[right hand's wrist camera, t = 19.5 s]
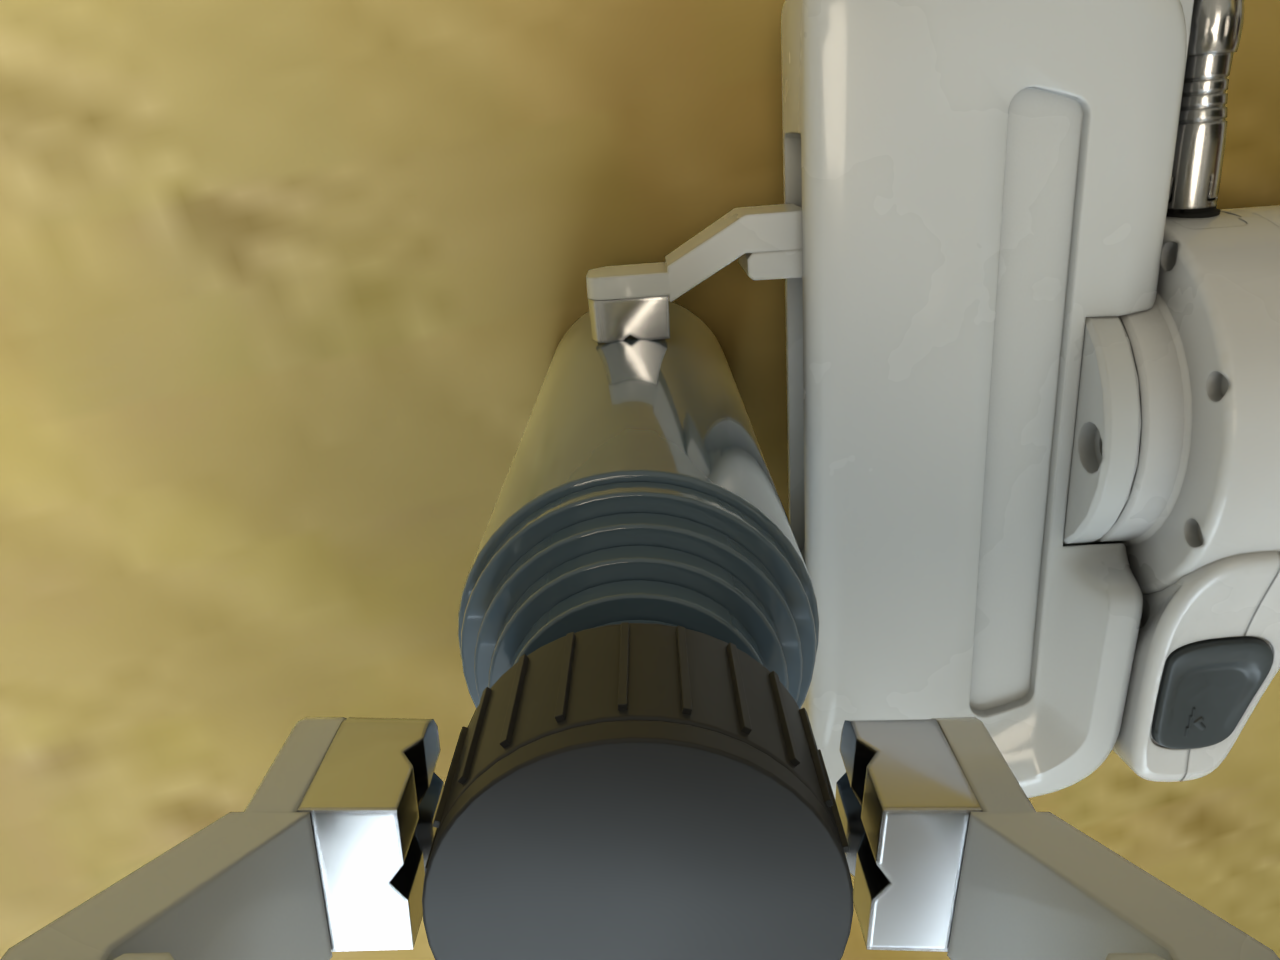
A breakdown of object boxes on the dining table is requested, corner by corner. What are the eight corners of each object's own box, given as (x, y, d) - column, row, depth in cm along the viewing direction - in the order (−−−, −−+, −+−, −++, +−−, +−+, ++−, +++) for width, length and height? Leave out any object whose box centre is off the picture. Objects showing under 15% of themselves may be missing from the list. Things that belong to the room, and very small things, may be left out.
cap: (520, 566, 9) (492, 674, 8) (882, 686, 10) (938, 817, 8) (413, 857, 11) (365, 1011, 9) (735, 950, 11) (754, 1114, 9)
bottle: (735, 461, 27) (904, 1042, 10) (562, 478, 28) (426, 1078, 10) (722, 286, 25) (903, 617, 8) (537, 305, 26) (317, 671, 8)
